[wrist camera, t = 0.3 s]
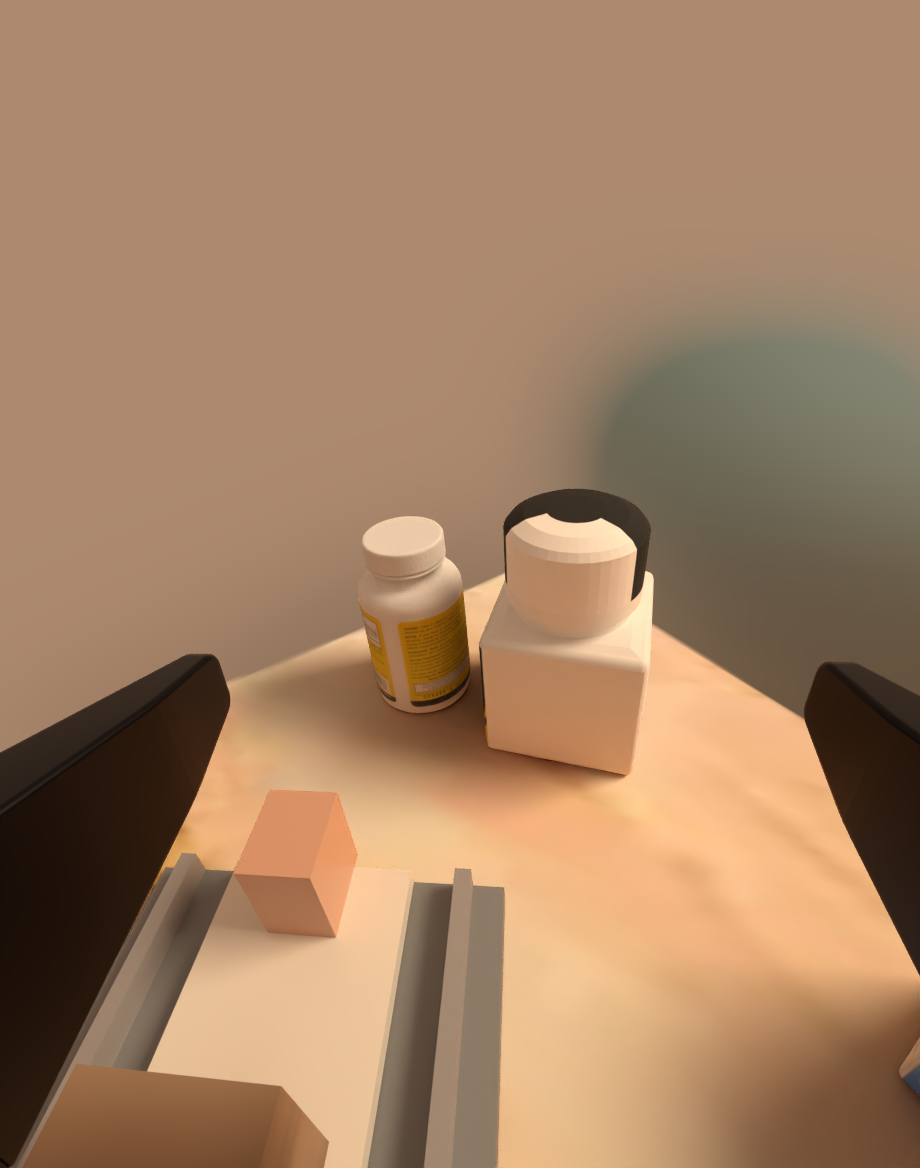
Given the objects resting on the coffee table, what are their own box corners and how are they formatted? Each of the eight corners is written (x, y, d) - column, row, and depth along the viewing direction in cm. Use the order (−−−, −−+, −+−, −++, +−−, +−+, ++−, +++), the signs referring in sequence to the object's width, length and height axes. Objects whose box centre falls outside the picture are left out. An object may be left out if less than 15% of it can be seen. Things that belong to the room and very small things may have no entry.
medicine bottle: (515, 656, 33) (510, 469, 26) (639, 674, 31) (668, 477, 24) (484, 750, 28) (468, 544, 21) (632, 779, 26) (667, 563, 19)
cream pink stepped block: (287, 1659, 10) (195, 1762, 7) (-51, 1577, 11) (-246, 1642, 8) (416, 868, 22) (399, 794, 19) (249, 858, 23) (211, 787, 20)
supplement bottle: (484, 661, 33) (475, 515, 28) (448, 727, 29) (428, 573, 24) (405, 642, 35) (381, 503, 29) (361, 703, 31) (323, 555, 25)
